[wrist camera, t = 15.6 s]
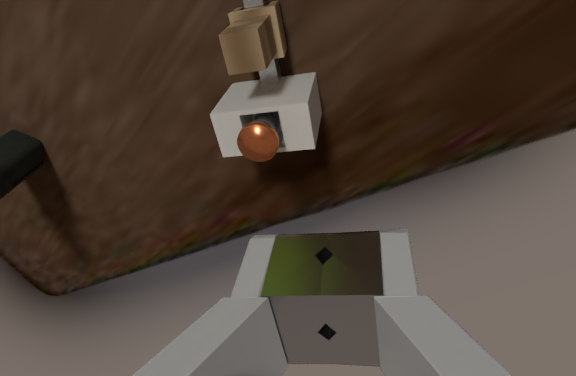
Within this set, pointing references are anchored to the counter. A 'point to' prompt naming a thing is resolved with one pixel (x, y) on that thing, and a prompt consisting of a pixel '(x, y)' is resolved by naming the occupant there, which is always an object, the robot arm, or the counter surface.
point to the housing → (269, 98)
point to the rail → (273, 70)
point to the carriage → (253, 38)
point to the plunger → (260, 137)
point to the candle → (18, 159)
